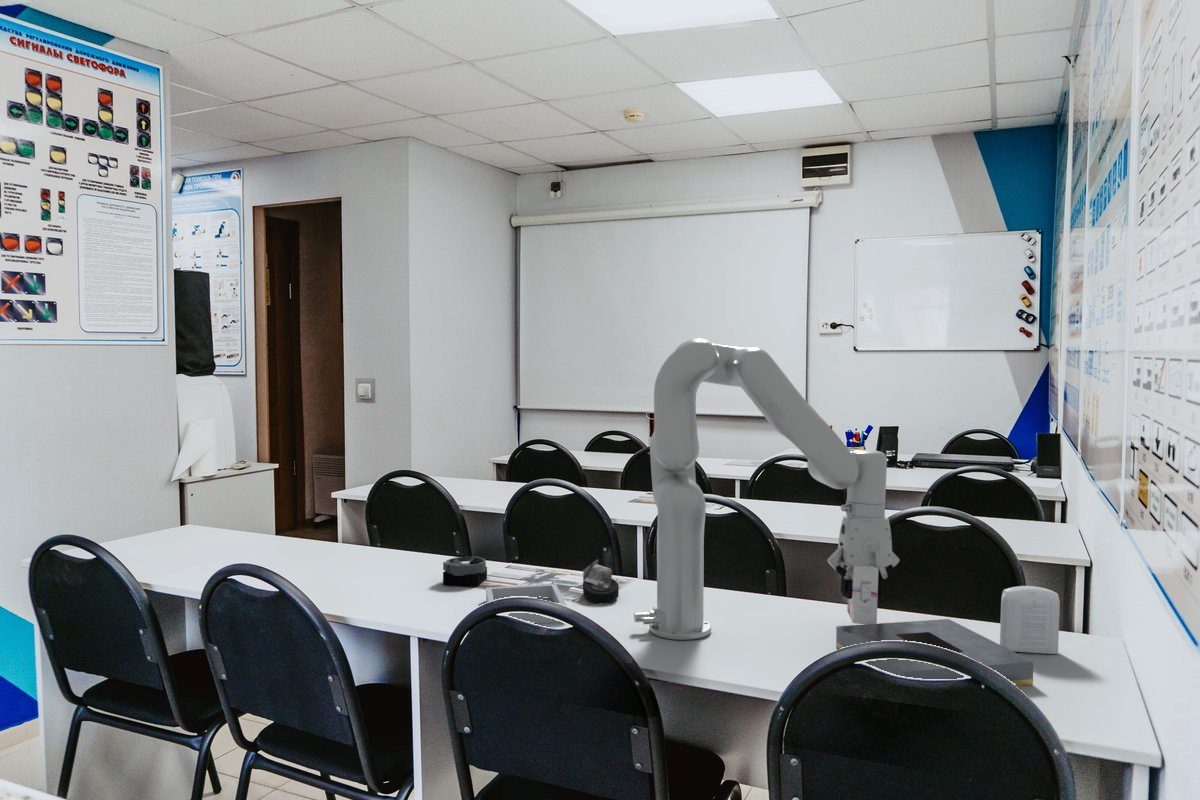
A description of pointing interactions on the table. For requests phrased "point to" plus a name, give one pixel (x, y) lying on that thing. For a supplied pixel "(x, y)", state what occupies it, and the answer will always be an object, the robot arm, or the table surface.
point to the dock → (943, 636)
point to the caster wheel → (599, 584)
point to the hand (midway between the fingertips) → (862, 595)
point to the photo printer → (1030, 620)
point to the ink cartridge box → (864, 594)
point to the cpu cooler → (464, 571)
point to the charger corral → (530, 591)
